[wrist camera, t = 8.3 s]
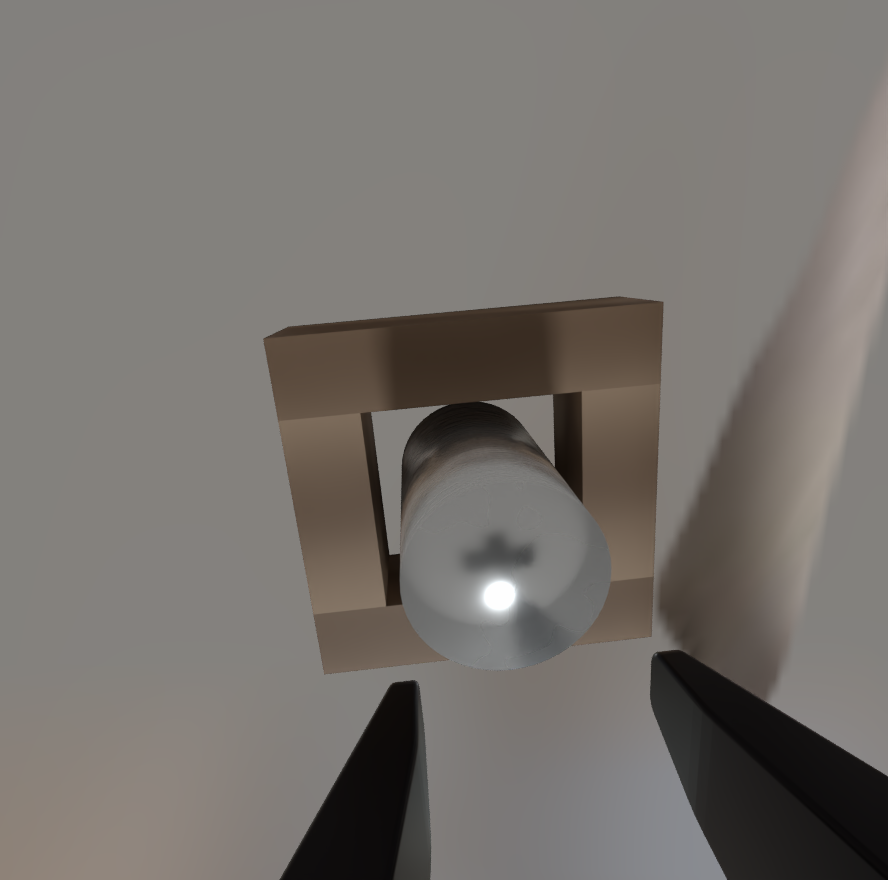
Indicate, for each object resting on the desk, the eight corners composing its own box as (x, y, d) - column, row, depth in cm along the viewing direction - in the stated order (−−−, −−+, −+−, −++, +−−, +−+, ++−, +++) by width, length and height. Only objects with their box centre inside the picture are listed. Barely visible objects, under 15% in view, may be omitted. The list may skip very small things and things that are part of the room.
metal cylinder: (537, 520, 19) (611, 658, 12) (409, 534, 19) (411, 681, 12) (532, 394, 17) (612, 471, 11) (394, 408, 17) (387, 493, 11)
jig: (615, 583, 20) (651, 636, 17) (336, 614, 19) (324, 674, 16) (618, 296, 17) (663, 302, 14) (288, 326, 16) (262, 338, 13)
